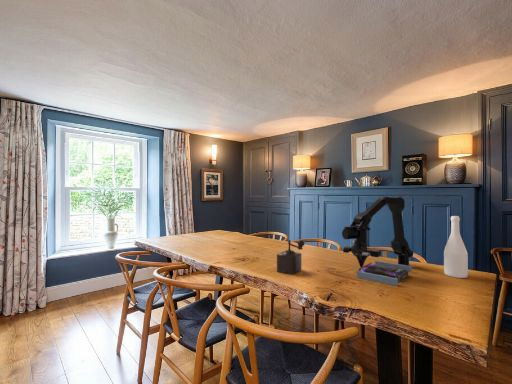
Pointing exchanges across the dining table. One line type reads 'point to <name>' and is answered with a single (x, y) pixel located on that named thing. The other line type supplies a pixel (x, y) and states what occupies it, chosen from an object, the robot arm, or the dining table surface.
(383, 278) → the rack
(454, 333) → the dining table surface
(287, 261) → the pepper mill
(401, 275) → the box
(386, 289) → the dining table surface
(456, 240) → the wine bottle
